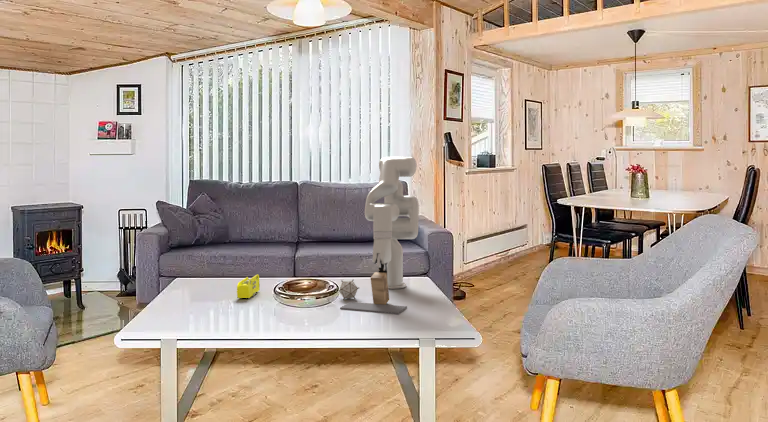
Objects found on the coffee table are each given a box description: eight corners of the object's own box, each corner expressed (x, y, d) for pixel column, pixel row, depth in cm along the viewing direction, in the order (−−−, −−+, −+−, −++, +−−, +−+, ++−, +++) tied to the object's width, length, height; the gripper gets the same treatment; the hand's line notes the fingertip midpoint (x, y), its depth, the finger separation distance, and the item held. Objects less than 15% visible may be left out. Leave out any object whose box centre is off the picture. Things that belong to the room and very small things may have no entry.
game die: (351, 308, 246) (355, 292, 240) (333, 300, 247) (336, 284, 241) (359, 294, 253) (363, 278, 246) (341, 286, 254) (345, 270, 248)
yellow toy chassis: (249, 300, 246) (249, 280, 245) (236, 300, 247) (236, 280, 246) (260, 291, 262) (260, 273, 261) (248, 291, 262) (247, 273, 262)
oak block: (377, 298, 242) (374, 272, 238) (389, 299, 240) (386, 272, 236) (373, 304, 237) (370, 277, 233) (385, 305, 236) (382, 278, 232)
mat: (351, 303, 240) (351, 301, 240) (407, 307, 231) (407, 306, 231) (340, 309, 230) (340, 307, 230) (398, 314, 222) (398, 312, 221)
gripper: (380, 233, 246) (380, 276, 248) (367, 237, 232) (367, 283, 234) (397, 233, 244) (397, 277, 245) (385, 237, 230) (385, 284, 231)
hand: (382, 280), depth 239 cm, fingers closed
